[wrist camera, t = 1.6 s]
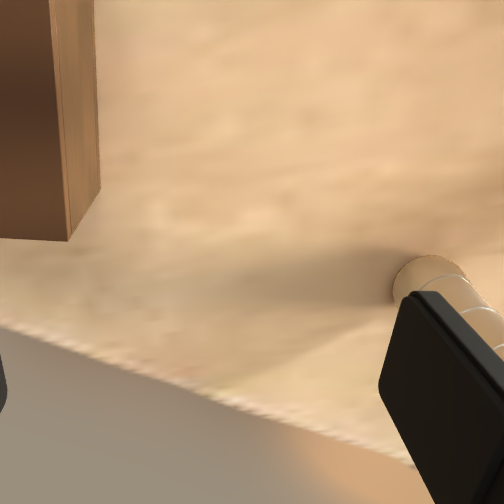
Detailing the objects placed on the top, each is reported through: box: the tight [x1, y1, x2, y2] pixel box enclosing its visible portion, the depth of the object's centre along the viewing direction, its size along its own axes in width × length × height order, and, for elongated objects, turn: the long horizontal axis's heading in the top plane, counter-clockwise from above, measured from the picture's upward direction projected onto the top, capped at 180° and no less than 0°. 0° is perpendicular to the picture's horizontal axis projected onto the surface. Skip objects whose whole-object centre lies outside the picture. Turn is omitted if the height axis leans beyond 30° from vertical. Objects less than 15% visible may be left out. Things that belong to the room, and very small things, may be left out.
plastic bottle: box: [393, 255, 504, 361], centre depth 33 cm, size 6×7×20 cm
